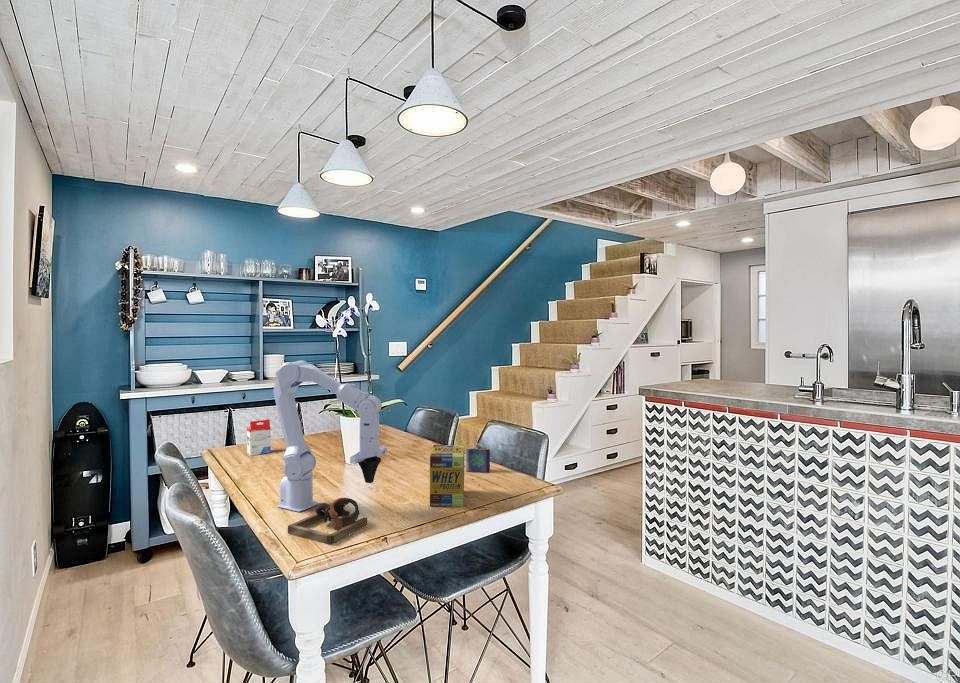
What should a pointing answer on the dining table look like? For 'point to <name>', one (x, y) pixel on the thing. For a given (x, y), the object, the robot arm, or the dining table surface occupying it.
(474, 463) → the navy clover print box
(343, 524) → the dark brown curved piece
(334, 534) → the walnut open-sided frame
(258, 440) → the ink box
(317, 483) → the dining table surface
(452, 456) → the protein box
